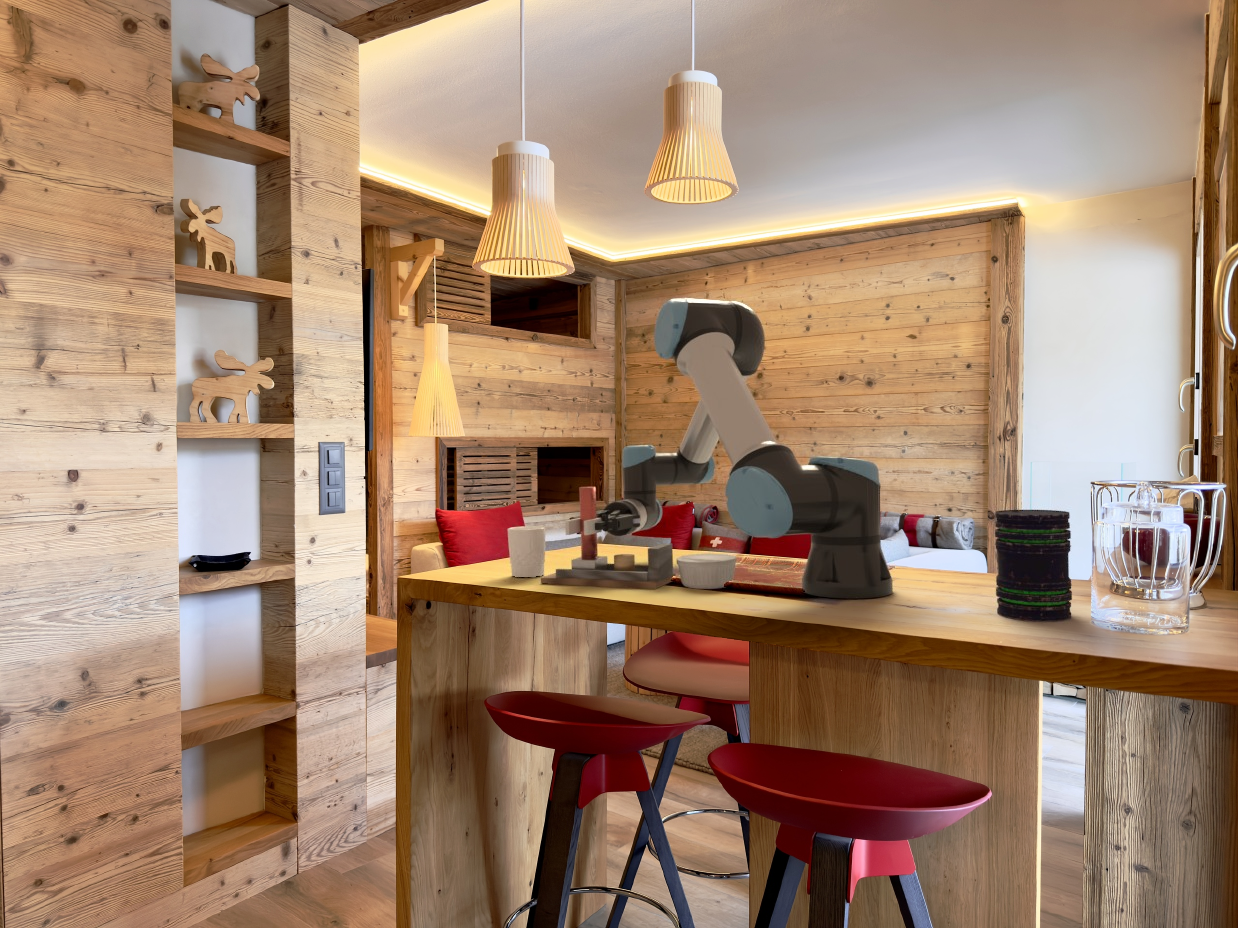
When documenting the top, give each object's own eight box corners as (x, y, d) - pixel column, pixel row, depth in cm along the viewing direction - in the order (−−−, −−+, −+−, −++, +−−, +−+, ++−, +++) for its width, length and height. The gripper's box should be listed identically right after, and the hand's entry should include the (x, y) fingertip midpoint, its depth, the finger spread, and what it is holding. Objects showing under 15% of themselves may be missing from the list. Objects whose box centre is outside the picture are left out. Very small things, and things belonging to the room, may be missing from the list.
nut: (634, 577, 154) (633, 556, 154) (613, 577, 154) (612, 556, 154) (635, 574, 158) (635, 553, 158) (615, 574, 158) (615, 554, 158)
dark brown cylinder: (1089, 617, 114) (1087, 512, 114) (1036, 624, 111) (1034, 516, 111) (1030, 605, 124) (1028, 508, 123) (981, 611, 120) (978, 511, 120)
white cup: (550, 572, 171) (548, 525, 171) (542, 578, 164) (541, 529, 163) (513, 573, 172) (512, 526, 172) (504, 578, 164) (503, 530, 164)
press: (675, 579, 158) (674, 542, 157) (656, 588, 147) (654, 549, 147) (566, 575, 167) (565, 540, 167) (540, 583, 157) (539, 546, 157)
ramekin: (676, 590, 146) (675, 561, 146) (678, 580, 157) (677, 553, 157) (738, 590, 145) (737, 560, 144) (736, 580, 156) (735, 552, 156)
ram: (607, 571, 161) (605, 486, 160) (595, 576, 155) (592, 487, 155) (585, 570, 163) (582, 486, 162) (571, 575, 157) (569, 488, 157)
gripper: (659, 535, 172) (616, 548, 150) (590, 534, 178) (539, 546, 157) (658, 500, 172) (615, 508, 150) (589, 500, 178) (538, 508, 157)
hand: (576, 527), depth 154 cm, fingers closed on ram, 3 cm apart
